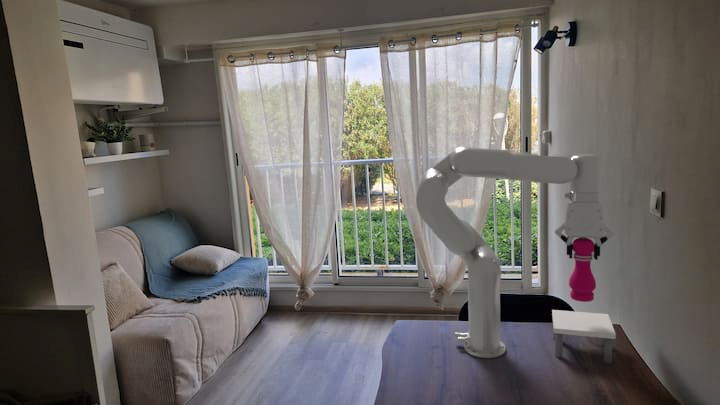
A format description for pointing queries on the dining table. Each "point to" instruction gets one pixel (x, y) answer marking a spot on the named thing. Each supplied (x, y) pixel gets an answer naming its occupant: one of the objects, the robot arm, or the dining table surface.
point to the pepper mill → (582, 271)
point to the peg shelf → (583, 329)
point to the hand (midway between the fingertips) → (582, 257)
